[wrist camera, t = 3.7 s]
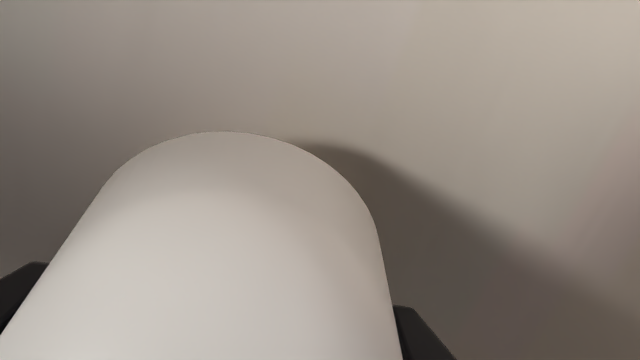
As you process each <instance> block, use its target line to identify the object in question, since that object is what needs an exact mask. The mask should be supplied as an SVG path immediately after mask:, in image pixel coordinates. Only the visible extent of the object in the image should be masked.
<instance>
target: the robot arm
mask: <svg viewBox="0 0 640 360" xmlns="http://www.w3.org/2000/svg"><path fill="white" fill-rule="evenodd" d="M49 264H50V263H45V262H31V263H28V264H26V265H25V266H23V267H21V268H19V269H18V270H16V271H14V272H12V273H10V274H9V275H7V276H5V277H3V278H2V279H0V335H1V333H2V332H3V330H4V329H5V327H6V326H7V325H8V323H9V322H10V320H11V319H12V317H13V316H14V314H15V313H16V312H17V310H18V309H19V307H20V306H21V304H22V303H23V301H24V300H25V298H26V297H27V296H28V294H29V293H30V291H31V290H32V288H33V287H34V285H35V284H36V283H37V281H38V280H39V278H40V277H41V275H42V274H43V272H44V271H45V269H46V268H47V267H48V265H49ZM392 307H393V312H394V317H395V322H396V327H397V332H398V337H399V342H400V347H401V352H402V357H403V360H456V358H455V357H454V356H453V355H452V354H451V352H450V351H449V350H448V349H447V348H446V347H445V345H444V344H443V343H442V342H441V341H440V340H439V338H438V337H437V336H436V335H435V334H434V332H433V331H432V330H431V329H430V328H429V327H428V325H427V324H426V323H425V322H424V321H423V319H422V318H421V317H420V316H419V315H418V314H417V312H416V311H415V310H414V309H413V308H411V307H406V306H398V305H392Z"/></svg>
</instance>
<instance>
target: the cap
mask: <svg viewBox="0 0 640 360" xmlns="http://www.w3.org/2000/svg"><path fill="white" fill-rule="evenodd" d="M0 360H403V357H402V352H401V347H400V342H399V337H398V332H397V327H396V322H395V317H394V312H393V307H392V302H391V297H390V292H389V287H388V282H387V277H386V272H385V267H384V262H383V257H382V252H381V247H380V242H379V237H378V234H377V230H376V227H375V224H374V221H373V219H372V217H371V214H370V212H369V210H368V208H367V206H366V205H365V203H364V202H363V200H362V199H361V197H360V196H359V194H358V193H357V191H356V190H355V189H354V188H353V187H352V186H351V185H350V184H349V182H348V181H347V180H346V179H345V178H344V177H343V176H342V175H340V174H339V173H338V172H337V171H336V170H335V169H333V168H332V167H331V166H330V165H328V164H327V163H325V162H324V161H322V160H321V159H319V158H318V157H316V156H314V155H313V154H311V153H309V152H307V151H305V150H303V149H301V148H299V147H296V146H294V145H292V144H289V143H286V142H283V141H280V140H277V139H274V138H271V137H266V136H261V135H256V134H252V133H242V132H231V131H223V132H203V133H197V134H190V135H184V136H181V137H177V138H174V139H170V140H167V141H164V142H162V143H159V144H157V145H155V146H152V147H150V148H148V149H146V150H144V151H143V152H141V153H139V154H138V155H136V156H134V157H133V158H131V159H130V160H128V161H127V162H126V163H125V164H124V165H122V166H121V167H120V168H119V169H118V170H116V171H115V172H114V174H113V175H112V176H111V177H110V178H109V179H108V181H107V182H106V183H105V184H104V185H103V187H102V188H101V190H100V191H99V193H98V194H97V195H96V197H95V198H94V200H93V201H92V203H91V204H90V206H89V207H88V209H87V210H86V211H85V213H84V214H83V216H82V217H81V219H80V220H79V222H78V223H77V224H76V226H75V227H74V229H73V230H72V232H71V233H70V235H69V236H68V238H67V239H66V240H65V242H64V243H63V245H62V246H61V248H60V249H59V251H58V252H57V253H56V255H55V256H54V258H53V259H52V261H51V262H50V264H49V265H48V267H47V268H46V269H45V271H44V272H43V274H42V275H41V277H40V278H39V280H38V281H37V283H36V284H35V285H34V287H33V288H32V290H31V291H30V293H29V294H28V296H27V297H26V298H25V300H24V301H23V303H22V304H21V306H20V307H19V309H18V310H17V312H16V313H15V314H14V316H13V317H12V319H11V320H10V322H9V323H8V325H7V326H6V327H5V329H4V330H3V332H2V333H1V335H0Z"/></svg>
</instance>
